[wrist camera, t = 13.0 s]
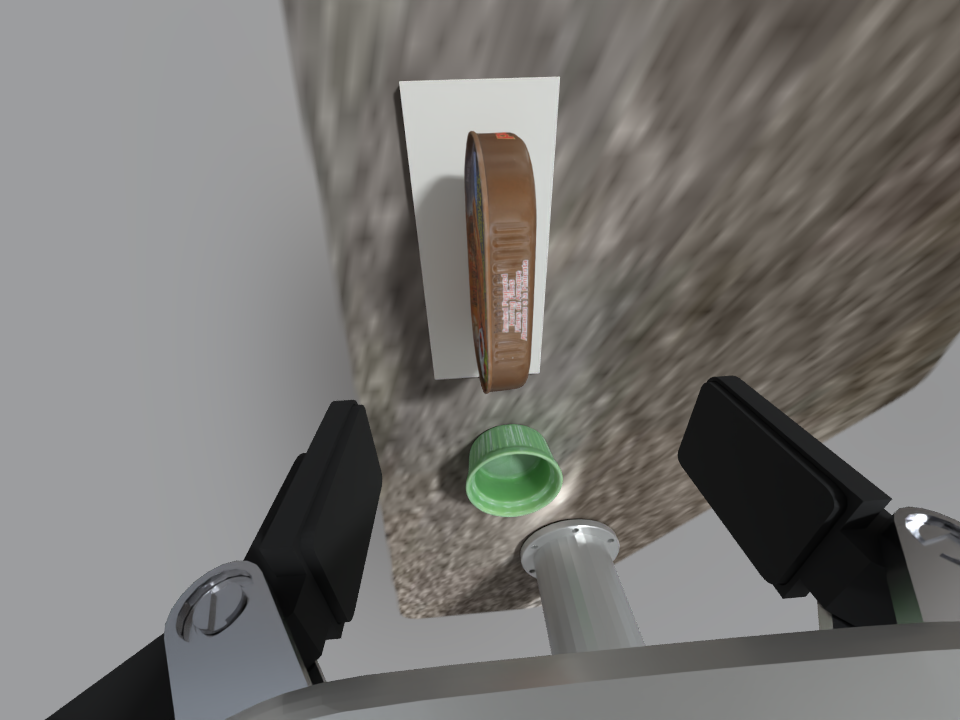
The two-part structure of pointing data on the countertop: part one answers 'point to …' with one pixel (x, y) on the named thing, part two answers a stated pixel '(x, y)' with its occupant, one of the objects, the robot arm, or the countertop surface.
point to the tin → (500, 256)
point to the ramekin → (512, 472)
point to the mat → (441, 195)
